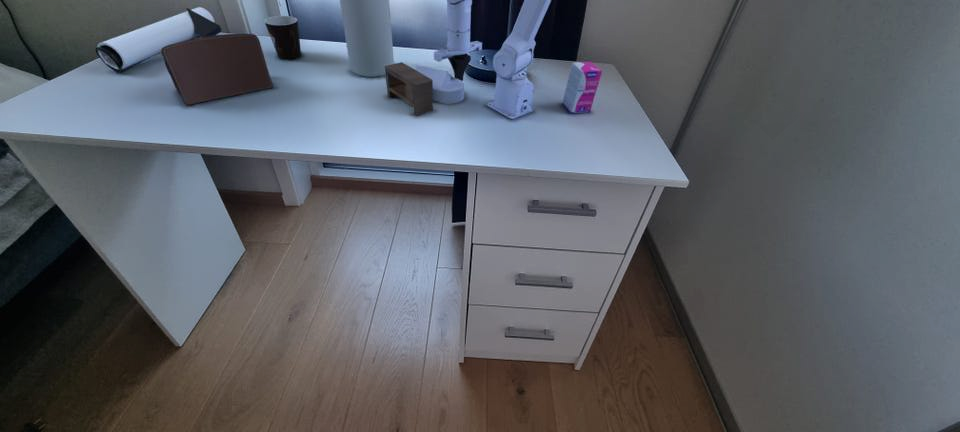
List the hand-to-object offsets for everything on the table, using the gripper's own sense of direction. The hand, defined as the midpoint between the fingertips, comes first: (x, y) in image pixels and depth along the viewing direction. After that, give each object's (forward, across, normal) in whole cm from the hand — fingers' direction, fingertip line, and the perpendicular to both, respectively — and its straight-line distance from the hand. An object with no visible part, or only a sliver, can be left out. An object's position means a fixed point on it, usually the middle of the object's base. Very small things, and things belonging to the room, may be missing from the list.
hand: (458, 82), depth 107 cm
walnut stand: (+2, +16, -1) cm, 16 cm away
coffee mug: (+1, +28, -45) cm, 53 cm away
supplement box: (+3, -19, +26) cm, 33 cm away
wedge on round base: (+2, +6, -1) cm, 6 cm away
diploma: (0, +52, -64) cm, 83 cm away
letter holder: (+1, +49, -33) cm, 59 cm away
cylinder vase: (+2, +12, -25) cm, 28 cm away
